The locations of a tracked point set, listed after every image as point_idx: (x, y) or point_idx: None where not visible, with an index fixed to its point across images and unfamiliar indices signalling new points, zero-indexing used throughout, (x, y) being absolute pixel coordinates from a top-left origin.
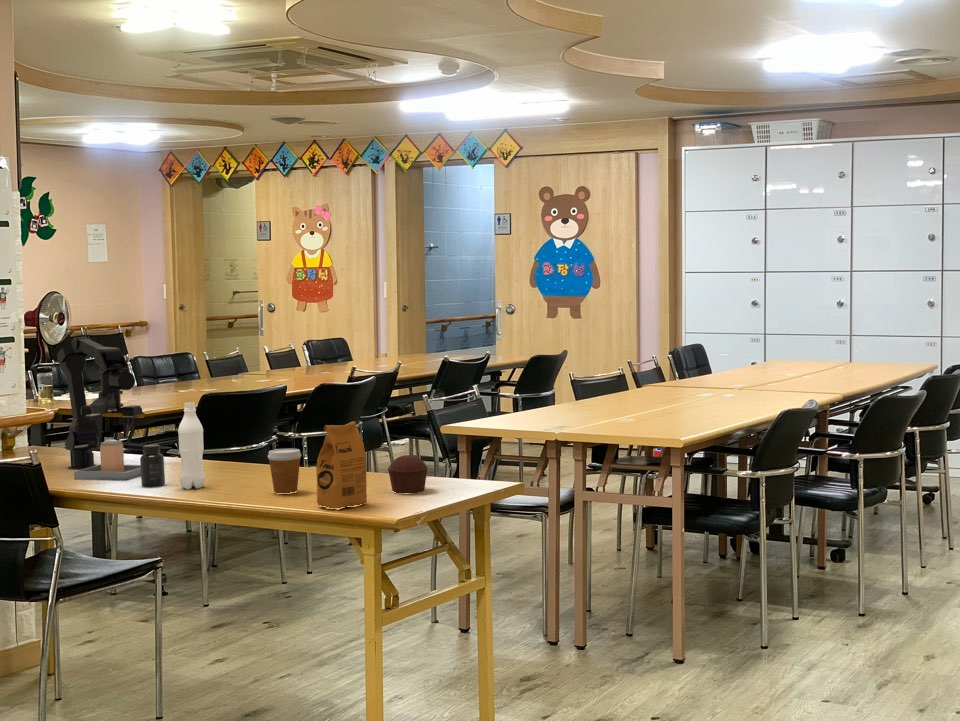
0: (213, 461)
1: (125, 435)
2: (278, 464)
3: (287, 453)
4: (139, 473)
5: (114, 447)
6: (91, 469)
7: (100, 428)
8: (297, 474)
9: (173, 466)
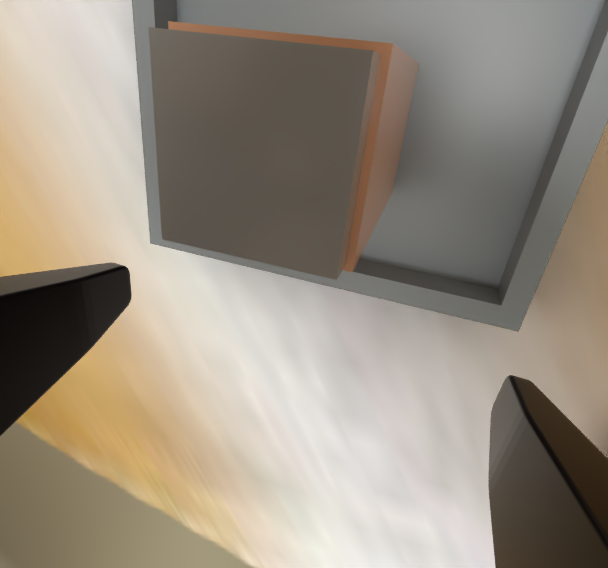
0: (96, 463)
1: (81, 269)
2: None
3: None
4: None
5: (178, 24)
6: (545, 179)
7: (512, 532)
8: None
9: (173, 395)
